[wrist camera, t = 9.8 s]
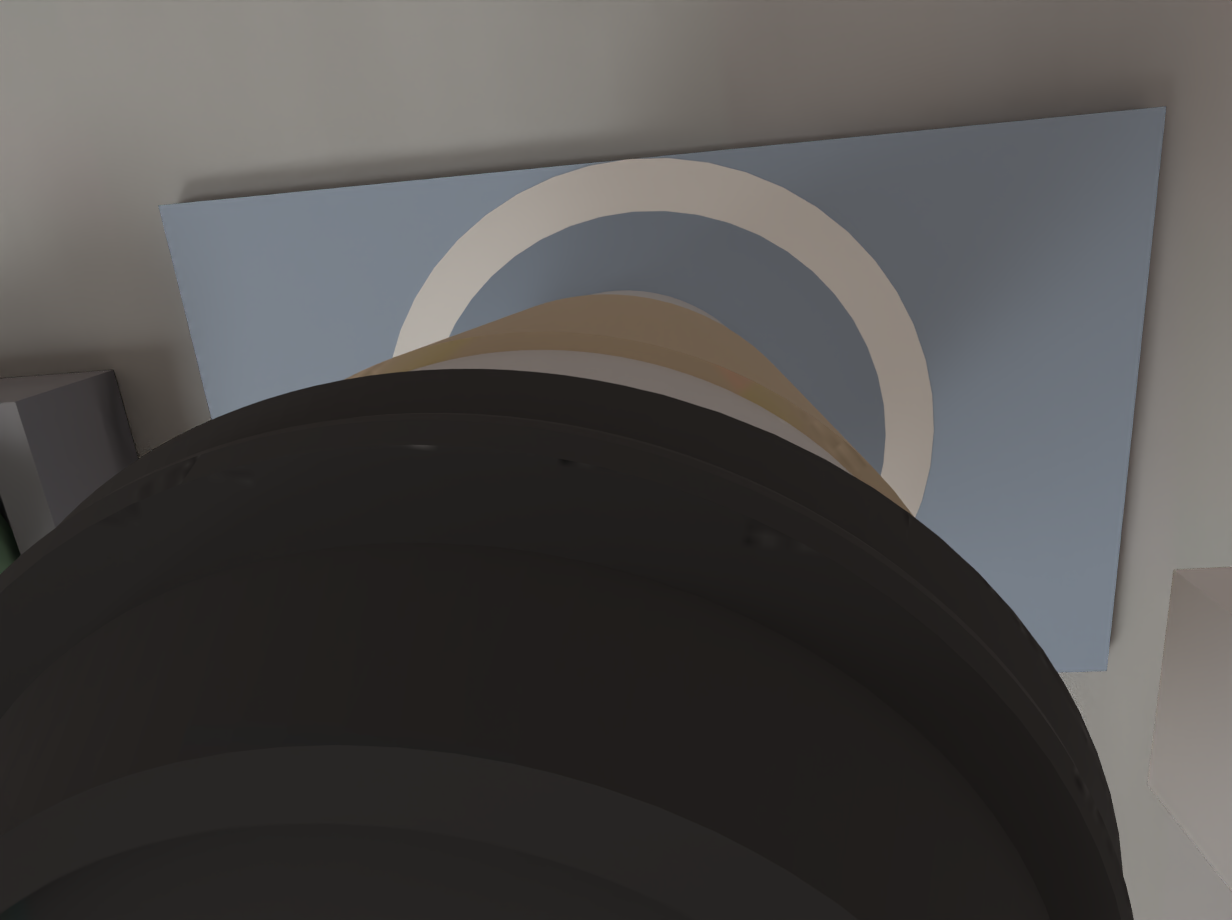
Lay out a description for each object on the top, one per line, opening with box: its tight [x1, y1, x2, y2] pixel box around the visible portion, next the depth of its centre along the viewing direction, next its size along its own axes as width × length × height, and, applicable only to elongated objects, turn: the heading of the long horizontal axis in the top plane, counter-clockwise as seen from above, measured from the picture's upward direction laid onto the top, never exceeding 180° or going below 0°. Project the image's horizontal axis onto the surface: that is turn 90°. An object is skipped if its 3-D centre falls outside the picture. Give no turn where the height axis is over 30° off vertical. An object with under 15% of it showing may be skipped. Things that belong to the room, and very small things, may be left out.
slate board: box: [158, 106, 1166, 672], centre depth 19 cm, size 20×12×1 cm, turn 95°
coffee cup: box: [0, 290, 1134, 920], centre depth 11 cm, size 9×9×15 cm
